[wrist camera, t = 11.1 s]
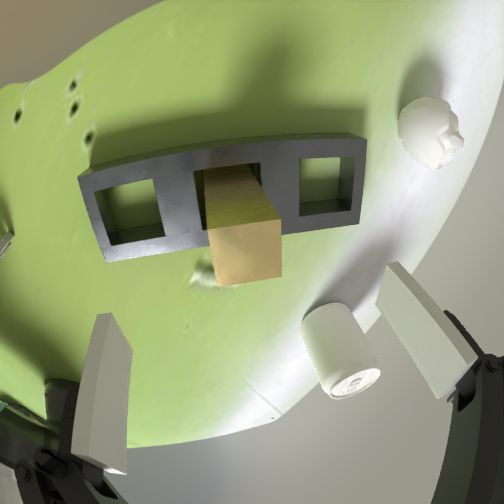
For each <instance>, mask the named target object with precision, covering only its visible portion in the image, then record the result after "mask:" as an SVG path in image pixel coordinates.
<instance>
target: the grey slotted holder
mask: <svg viewBox="0 0 504 504" xmlns="http://www.w3.org/2000/svg"><path fill="white" fill-rule="evenodd" d="M366 149H367V139H365V138H362V137H359V136H357V135H354V134H346V133H319V134H289V135H272V136H259V137H247V138H238V139H229V140H220V141H213V142H206V143H199V144H192V145H186V146H180V147H175V148H169V149H164V150H159V151H154V152H149V153H144V154H140V155H135V156H131V157H127V158H123V159H118V160H115V161H111V162H107V163H103V164H99V165H96V166H92V167H89V168H88V169H86V170H85V171H84V172H83V173H82V174H80V175H79V176H78V177H77V178H78V182H79V185H80V189H81V192H82V196H83V199H84V202H85V205H86V209H87V212H88V215H89V218H90V221H91V224H92V227H93V230H94V232H95V235H96V238H97V241H98V243H99V246H100V249H101V251H102V254H103V256H104V259H105V261H106V263H107V262H113V261H119V260H125V259H131V258H137V257H143V256H149V255H155V254H161V253H167V252H174V251H180V250H186V249H192V248H199V247H205V246H210V243H209V237H208V231H207V219H206V216H202V214H201V208H200V202H199V196H198V189H197V183H196V176H195V171H196V170H203V169H209V168H216V167H224V166H232V165H240V164H248V163H254V165H255V178H256V180H257V181H258V183H259V185H260V186H261V188H262V189H263V191H264V192H265V194H266V196H267V197H268V199H269V200H270V202H271V204H272V205H273V207H274V208H275V210H276V212H277V213H278V215H279V216H280V218H281V235H285V234H292V233H299V232H306V231H313V230H320V229H327V228H334V227H341V226H348V225H356V224H359V220H360V213H361V204H362V196H363V186H364V176H365V164H366ZM327 157H341V158H340V178H339V193H338V199H333V200H323V201H314V202H304V203H299V159H307V158H327ZM151 178H153V183H154V188H155V192H156V197H157V201H158V206H159V210H160V214H161V219H162V223H159V224H153V225H147V226H142V227H136V228H131V229H126V230H121V231H118V229H117V226H116V223H115V219H114V216H113V213H112V209H111V206H110V202H109V199H108V195H107V192H106V188H110V187H115V186H119V185H123V184H128V183H132V182H137V181H141V180H146V179H151Z"/></svg>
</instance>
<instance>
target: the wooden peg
mask: <svg viewBox="0 0 504 504" xmlns="http://www.w3.org/2000/svg"><path fill="white" fill-rule="evenodd" d="M203 173H204V190H205V205H206V219H207V231H208V237H209V243H210V248H211V254H212V260H213V265H214V271H215V276H216V281H217V287H222V286H229V285H235V284H241V283H247V282H253V281H259V280H265V279H271V278H277V277H282V260H281V218H280V216H279V215H278V213H277V212H276V210H275V208H274V207H273V205H272V204H271V202H270V200H269V199H268V197H267V196H266V194H265V192H264V191H263V189H262V188H261V186H260V185H259V183H258V181H257V180H256V178H255V177H254V175H253V174H252V172H251V171H250V169H249V167H248V166H247V164H240V165H232V166H224V167H216V168H209V169H203Z"/></svg>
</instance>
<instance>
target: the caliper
mask: <svg viewBox="0 0 504 504" xmlns="http://www.w3.org/2000/svg"><path fill="white" fill-rule="evenodd" d="M13 237H14V235H13V234H12V233H11V232H10V231H8V232H7V233H6V234H5V235H4V236H3V238H2V239H1V240H0V259H1V258H2V256H3V255H4V253H5V252H6V250H7V249H8V247H9V246H10V244H11V243H10V241H11V240H12V239H13Z"/></svg>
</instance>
